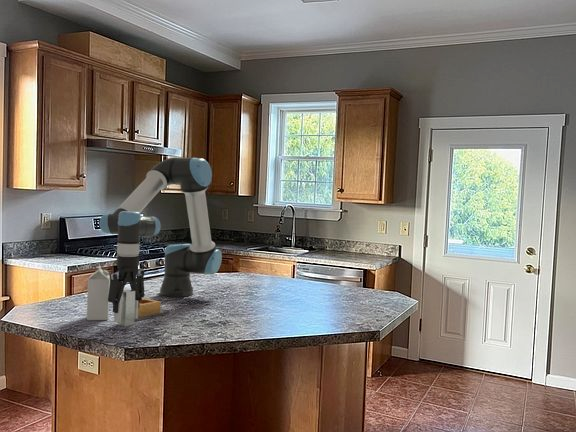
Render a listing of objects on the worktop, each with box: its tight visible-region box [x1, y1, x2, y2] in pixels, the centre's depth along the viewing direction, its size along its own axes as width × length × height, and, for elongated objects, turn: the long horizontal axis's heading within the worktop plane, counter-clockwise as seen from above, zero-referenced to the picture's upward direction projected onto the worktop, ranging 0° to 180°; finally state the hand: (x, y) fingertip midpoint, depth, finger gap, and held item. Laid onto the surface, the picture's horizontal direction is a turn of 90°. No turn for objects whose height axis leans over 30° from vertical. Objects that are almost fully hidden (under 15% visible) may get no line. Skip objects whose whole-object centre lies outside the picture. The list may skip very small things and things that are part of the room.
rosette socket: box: [134, 297, 170, 322], centre depth 200 cm, size 16×12×5 cm
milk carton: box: [86, 265, 110, 321], centre depth 191 cm, size 7×7×19 cm
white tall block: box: [116, 288, 135, 327], centre depth 185 cm, size 4×4×12 cm
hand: (125, 319), depth 185 cm, fingers open, 7 cm apart
